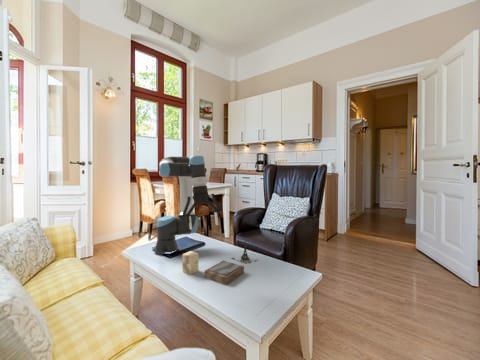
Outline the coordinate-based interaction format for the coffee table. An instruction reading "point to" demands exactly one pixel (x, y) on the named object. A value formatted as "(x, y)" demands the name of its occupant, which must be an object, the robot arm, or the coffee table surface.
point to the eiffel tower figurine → (244, 257)
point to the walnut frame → (224, 272)
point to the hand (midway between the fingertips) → (204, 227)
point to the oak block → (190, 262)
